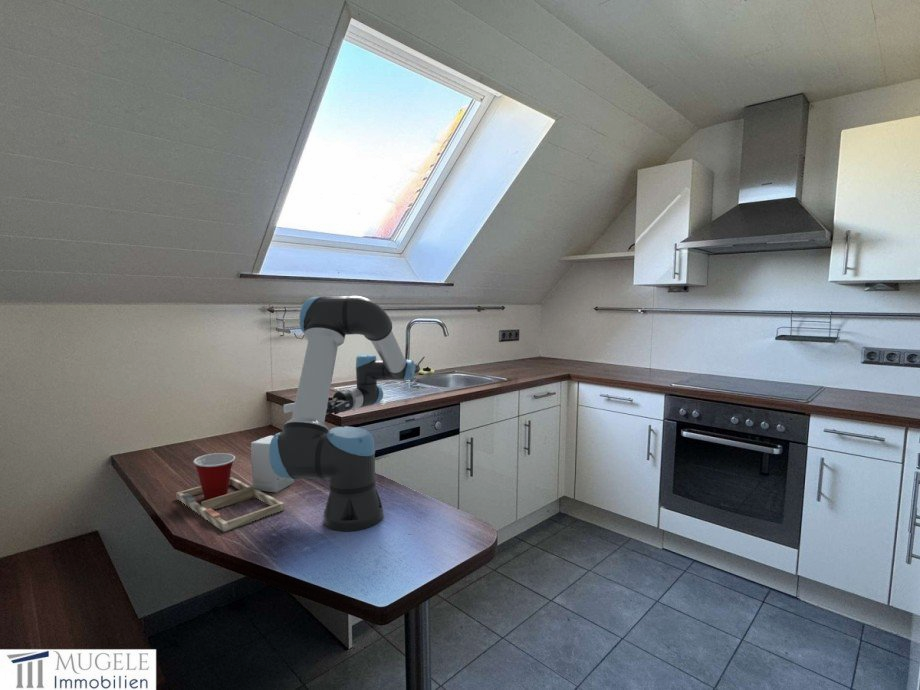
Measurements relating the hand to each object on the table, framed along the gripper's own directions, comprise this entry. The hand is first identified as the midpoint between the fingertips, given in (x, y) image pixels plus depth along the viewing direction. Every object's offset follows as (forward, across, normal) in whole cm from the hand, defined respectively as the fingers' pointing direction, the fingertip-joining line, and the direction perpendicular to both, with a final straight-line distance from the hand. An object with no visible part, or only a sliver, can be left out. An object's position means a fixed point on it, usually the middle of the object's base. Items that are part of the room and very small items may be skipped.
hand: (296, 411), depth 150 cm
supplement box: (+9, 0, -22) cm, 24 cm away
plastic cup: (+24, +6, -22) cm, 33 cm away
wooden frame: (+25, -2, -22) cm, 33 cm away
